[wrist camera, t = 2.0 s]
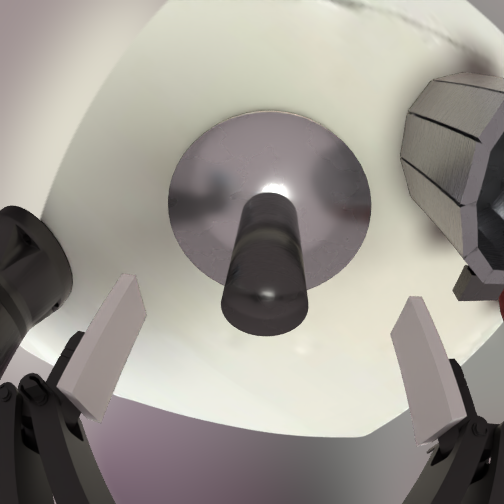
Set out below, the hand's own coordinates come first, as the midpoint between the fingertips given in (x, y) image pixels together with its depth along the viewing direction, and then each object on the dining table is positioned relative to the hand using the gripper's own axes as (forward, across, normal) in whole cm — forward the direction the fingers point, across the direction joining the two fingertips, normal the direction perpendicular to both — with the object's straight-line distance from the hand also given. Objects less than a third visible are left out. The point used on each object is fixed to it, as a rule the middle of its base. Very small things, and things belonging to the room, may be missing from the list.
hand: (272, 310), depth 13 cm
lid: (+12, -1, 0) cm, 12 cm away
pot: (+12, +16, +7) cm, 21 cm away
